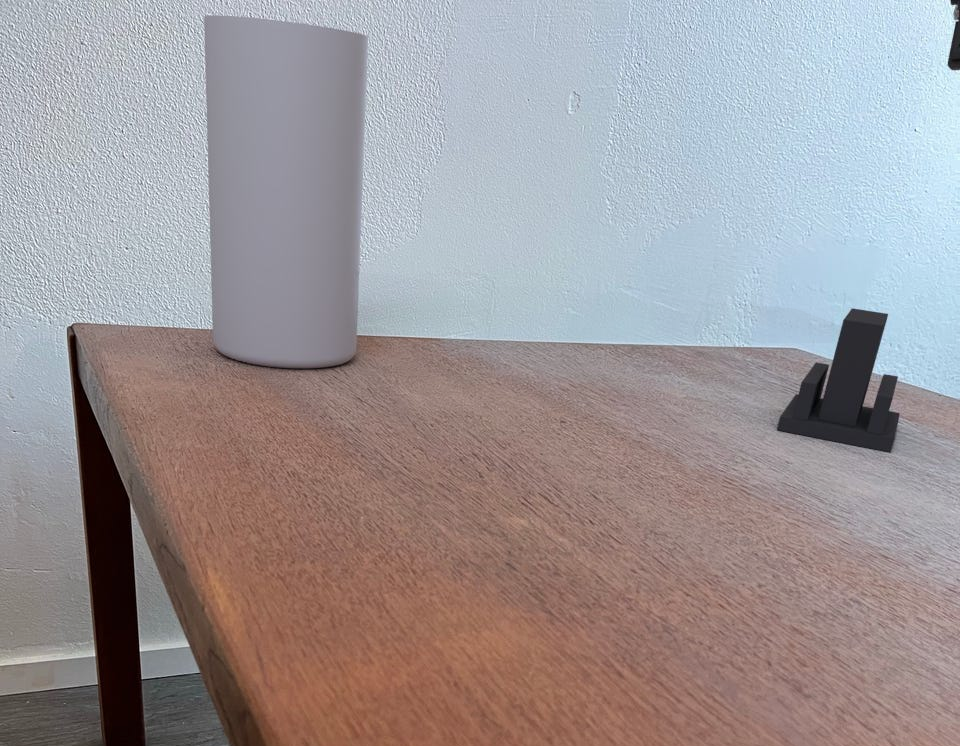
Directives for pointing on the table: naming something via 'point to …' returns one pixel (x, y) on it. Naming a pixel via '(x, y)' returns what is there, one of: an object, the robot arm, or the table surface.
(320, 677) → the table surface
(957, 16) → the robot arm
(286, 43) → the cylinder vase
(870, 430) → the base pad
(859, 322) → the block
